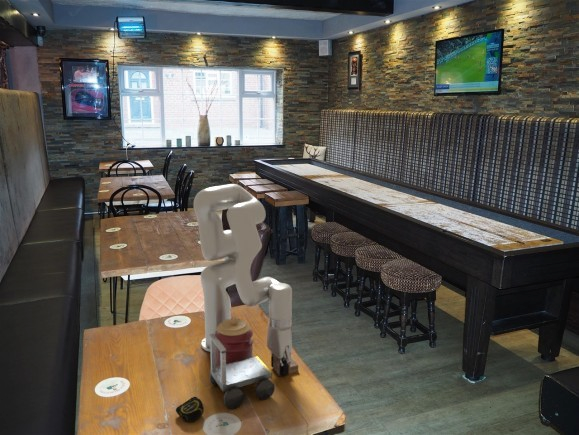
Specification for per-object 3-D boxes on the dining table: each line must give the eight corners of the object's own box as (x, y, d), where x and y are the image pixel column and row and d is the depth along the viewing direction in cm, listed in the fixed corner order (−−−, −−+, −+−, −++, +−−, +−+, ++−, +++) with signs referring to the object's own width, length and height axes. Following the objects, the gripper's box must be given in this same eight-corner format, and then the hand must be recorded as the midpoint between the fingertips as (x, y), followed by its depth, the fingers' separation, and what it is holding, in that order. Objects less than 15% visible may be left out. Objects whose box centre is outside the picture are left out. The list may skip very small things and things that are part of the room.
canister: (222, 353, 173) (221, 308, 169) (257, 357, 171) (257, 311, 167) (210, 372, 160) (208, 324, 156) (247, 377, 158) (247, 328, 154)
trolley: (208, 386, 152) (207, 331, 148) (255, 373, 160) (255, 320, 155) (224, 411, 140) (223, 352, 136) (274, 396, 148) (274, 339, 143)
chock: (273, 369, 163) (273, 354, 162) (291, 364, 167) (291, 350, 165) (279, 376, 159) (279, 361, 158) (298, 371, 162) (298, 356, 161)
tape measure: (198, 402, 142) (195, 392, 141) (209, 414, 137) (206, 405, 136) (177, 415, 139) (174, 406, 137) (187, 428, 134) (184, 418, 132)
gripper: (258, 313, 163) (259, 361, 167) (281, 334, 148) (281, 386, 153) (278, 308, 166) (278, 356, 171) (303, 329, 152) (301, 380, 156)
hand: (279, 369), depth 162 cm, fingers open, 5 cm apart
